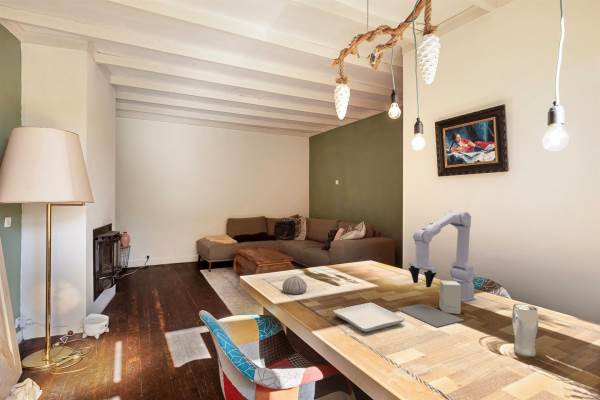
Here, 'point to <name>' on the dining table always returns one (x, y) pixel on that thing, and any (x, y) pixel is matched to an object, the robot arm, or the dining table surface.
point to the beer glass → (525, 329)
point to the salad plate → (368, 316)
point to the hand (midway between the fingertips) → (421, 284)
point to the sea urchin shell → (294, 285)
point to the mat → (430, 315)
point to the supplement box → (450, 297)
